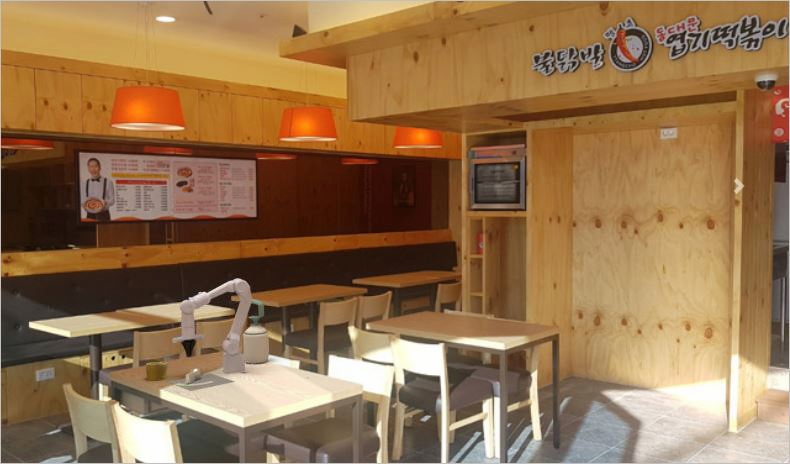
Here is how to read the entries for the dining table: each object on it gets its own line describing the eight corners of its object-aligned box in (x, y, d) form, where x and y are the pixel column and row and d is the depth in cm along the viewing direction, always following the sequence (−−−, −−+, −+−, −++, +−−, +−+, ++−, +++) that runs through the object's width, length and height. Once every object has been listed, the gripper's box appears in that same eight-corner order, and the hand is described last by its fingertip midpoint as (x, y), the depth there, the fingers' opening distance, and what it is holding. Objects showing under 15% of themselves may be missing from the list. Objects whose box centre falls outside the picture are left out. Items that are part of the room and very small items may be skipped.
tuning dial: (193, 377, 316) (192, 367, 316) (202, 377, 315) (202, 367, 315) (180, 384, 303) (180, 374, 303) (190, 385, 302) (190, 374, 302)
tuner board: (210, 375, 324) (210, 373, 324) (235, 383, 308) (235, 381, 308) (166, 384, 309) (166, 381, 309) (190, 393, 293) (190, 390, 293)
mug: (162, 379, 310) (158, 357, 312) (143, 386, 312) (138, 364, 314) (178, 378, 321) (173, 357, 323) (159, 384, 323) (154, 363, 326)
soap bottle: (251, 358, 358) (249, 297, 357) (273, 359, 355) (271, 298, 354) (239, 364, 346) (237, 301, 345) (262, 365, 343) (260, 301, 342)
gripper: (198, 323, 327) (199, 352, 327) (168, 327, 317) (169, 357, 317) (205, 325, 322) (206, 354, 322) (176, 329, 312) (176, 360, 312)
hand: (188, 356), depth 319 cm, fingers closed
